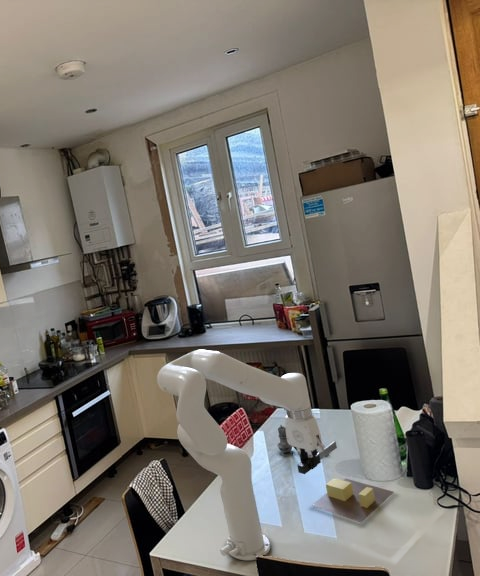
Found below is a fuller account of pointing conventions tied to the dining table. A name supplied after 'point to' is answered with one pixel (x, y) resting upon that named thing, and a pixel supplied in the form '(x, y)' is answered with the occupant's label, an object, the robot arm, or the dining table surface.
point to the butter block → (339, 489)
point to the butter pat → (366, 497)
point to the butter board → (353, 502)
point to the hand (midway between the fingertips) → (309, 465)
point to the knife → (304, 465)
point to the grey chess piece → (284, 443)
